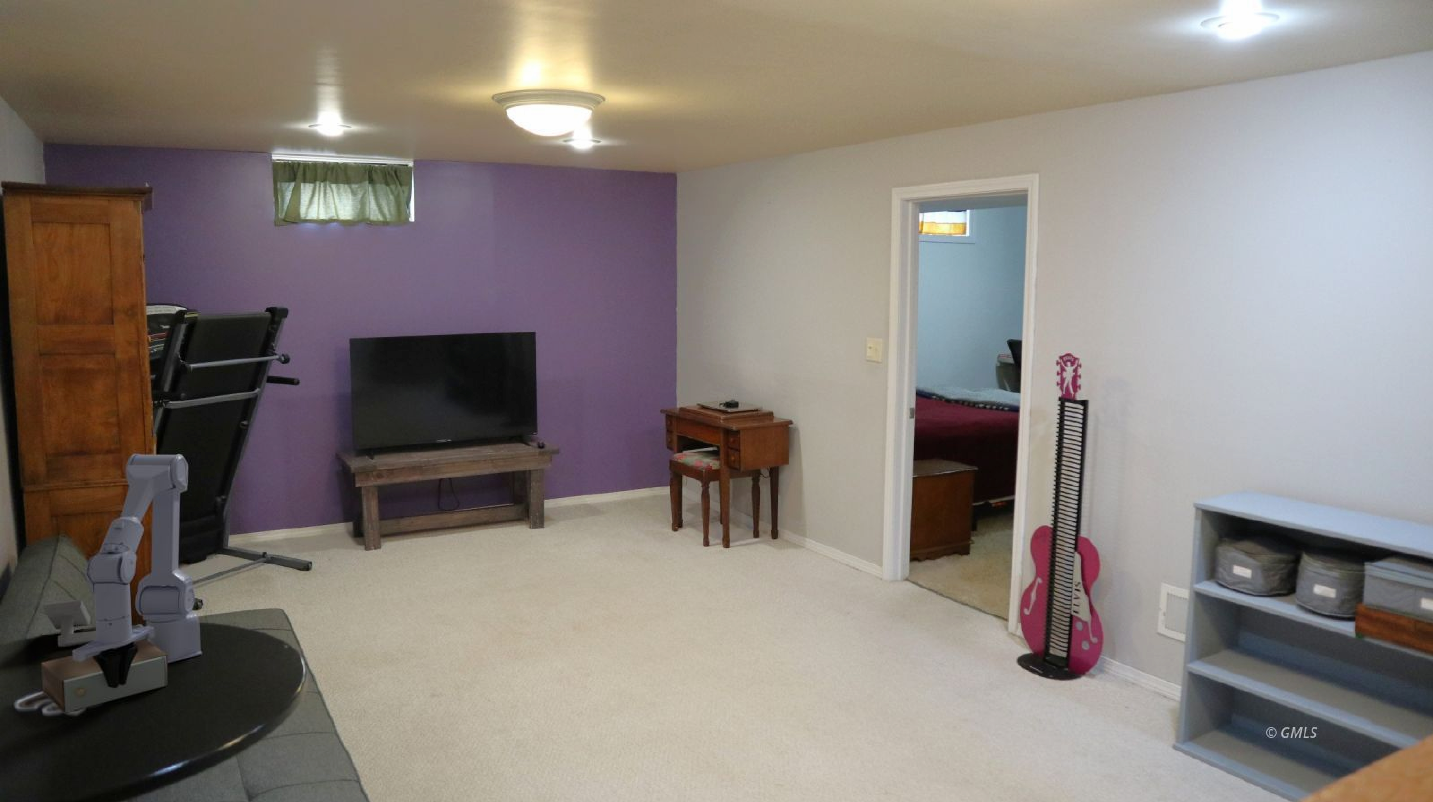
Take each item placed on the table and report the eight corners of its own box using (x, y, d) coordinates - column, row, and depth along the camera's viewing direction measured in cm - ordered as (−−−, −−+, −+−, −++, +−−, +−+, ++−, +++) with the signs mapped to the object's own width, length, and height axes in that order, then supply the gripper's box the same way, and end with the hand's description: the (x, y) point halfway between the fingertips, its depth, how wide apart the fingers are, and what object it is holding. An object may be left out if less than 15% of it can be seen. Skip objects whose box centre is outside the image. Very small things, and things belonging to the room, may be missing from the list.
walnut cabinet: (145, 665, 199) (144, 638, 198) (168, 683, 191) (167, 654, 191) (43, 692, 185) (41, 662, 185) (63, 711, 178) (61, 681, 177)
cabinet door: (166, 683, 191) (165, 655, 190) (170, 686, 189) (168, 658, 189) (65, 710, 178) (63, 680, 177) (68, 713, 177) (66, 683, 176)
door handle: (55, 658, 216) (43, 642, 199) (54, 623, 218) (42, 604, 202) (146, 644, 224) (141, 628, 208) (144, 610, 227) (140, 591, 211)
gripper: (135, 601, 188) (138, 668, 190) (60, 624, 175) (64, 695, 177) (160, 606, 186) (163, 674, 187) (85, 630, 172) (89, 702, 174)
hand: (116, 685), depth 182 cm, fingers closed
